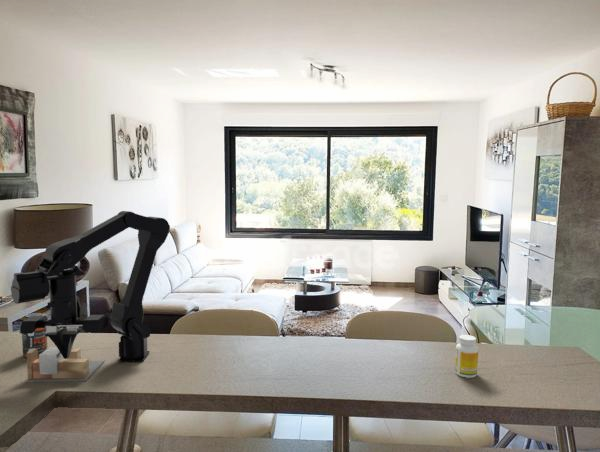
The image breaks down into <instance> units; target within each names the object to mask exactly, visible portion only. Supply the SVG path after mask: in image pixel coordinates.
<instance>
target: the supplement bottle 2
mask: <svg viewBox="0 0 600 452" xmlns="http://www.w3.org/2000/svg"><path fill="white" fill-rule="evenodd" d="M458 341H459V343H457V344H456V346H455V356H454V357H455V358H454V359H455V360H454V373H455V374H456V375H457V376H459V377H463V378H467V379H471V378H475V377H476V376H477V375H478V362H479V347H478V346H477V345H476V344H477V338H476V337H475V336H473V335H469V334H461V335H459V338H458Z"/></svg>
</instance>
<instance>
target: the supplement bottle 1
mask: <svg viewBox="0 0 600 452" xmlns="http://www.w3.org/2000/svg"><path fill="white" fill-rule="evenodd" d="M31 316H43V314H42V313H40V312H34V313H28V314H26V315H25V319H27V318H29V317H31ZM25 319H24V320H25ZM46 333H47V331H46V328H36V330H35V331H34V332H33V333H32V334H21V340H22V342H21V343H22V345H21V346H22V355H23V357H24V358H27V353H28V352H29V351H31V350H32V349H37V352H38V358H39V355H40V354H41V353H42V352H44V351H45V350H46V349H48V337H46V336H45V334H46Z"/></svg>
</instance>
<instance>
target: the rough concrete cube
mask: <svg viewBox="0 0 600 452" xmlns="http://www.w3.org/2000/svg"><path fill="white" fill-rule="evenodd" d="M38 359H39V365H40V374H58V373H59V363H60V362H61V361H62V360H63V359H64V357H63V356H62V354H61V353H60V351H59V350H58V348H57V347H56V346H49V347H47V349H46V350H45V351H44V352H42V353H41V354H40V355H39V357H38Z"/></svg>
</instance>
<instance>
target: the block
mask: <svg viewBox="0 0 600 452" xmlns="http://www.w3.org/2000/svg"><path fill="white" fill-rule="evenodd" d="M89 361H90V359H89V358H82V357H81V348H77V347H75V348H73V347H72V349H71V352H70V355H69V357H68V358H67V359H63V360H62V361H61V362H60V363H59V373H58V374H40V365H39V357H38V352H37V349H32V350H31V351H29V352H28V353H27V357H26V364H27V365H26V367H27V380H28V379H38V378H86V377H87V376H88V375H89Z"/></svg>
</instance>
